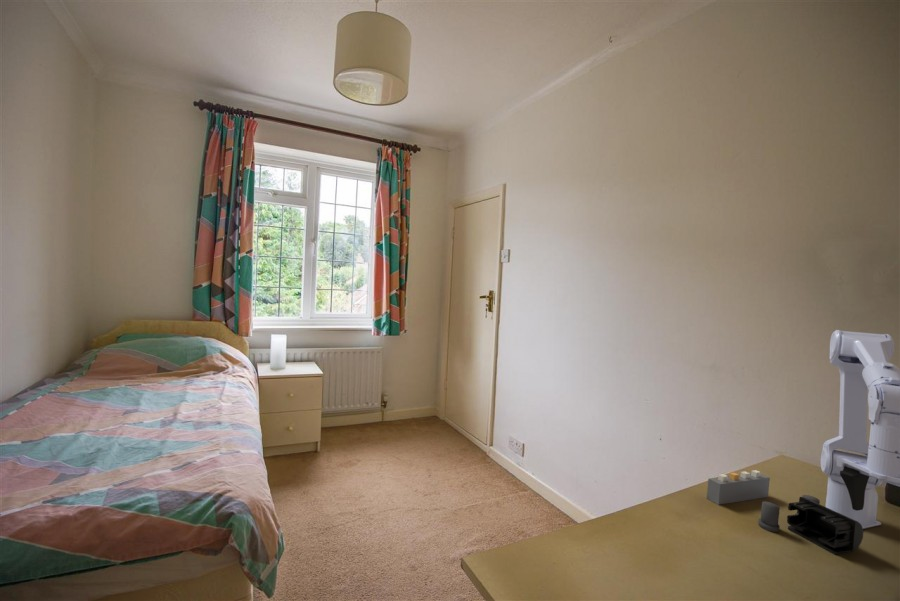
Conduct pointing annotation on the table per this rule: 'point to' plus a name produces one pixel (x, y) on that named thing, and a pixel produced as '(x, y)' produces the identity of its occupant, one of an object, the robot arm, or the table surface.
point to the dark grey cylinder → (811, 498)
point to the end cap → (824, 527)
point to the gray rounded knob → (769, 517)
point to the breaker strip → (737, 487)
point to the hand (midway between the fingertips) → (883, 520)
